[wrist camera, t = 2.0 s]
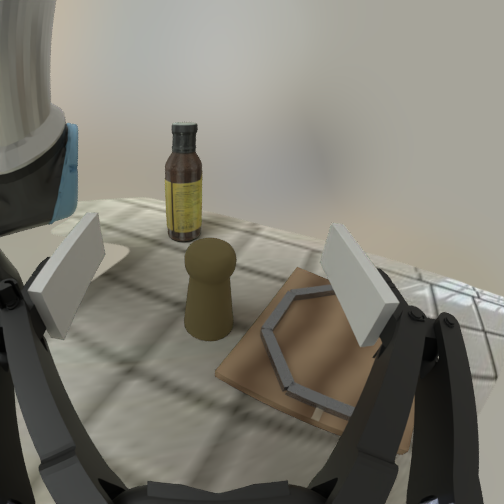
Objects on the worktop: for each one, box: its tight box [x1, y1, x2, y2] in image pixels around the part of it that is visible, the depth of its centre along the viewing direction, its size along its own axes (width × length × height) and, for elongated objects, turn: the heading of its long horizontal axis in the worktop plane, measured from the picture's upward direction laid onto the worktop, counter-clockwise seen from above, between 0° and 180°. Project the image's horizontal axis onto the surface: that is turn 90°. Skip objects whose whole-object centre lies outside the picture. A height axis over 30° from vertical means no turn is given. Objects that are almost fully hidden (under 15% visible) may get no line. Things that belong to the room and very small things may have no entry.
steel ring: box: [260, 284, 355, 421], centre depth 29 cm, size 19×19×1 cm
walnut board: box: [215, 267, 415, 455], centre depth 30 cm, size 22×22×1 cm
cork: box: [184, 238, 236, 341], centre depth 29 cm, size 6×6×11 cm
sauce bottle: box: [165, 122, 202, 241], centre depth 43 cm, size 6×6×20 cm
